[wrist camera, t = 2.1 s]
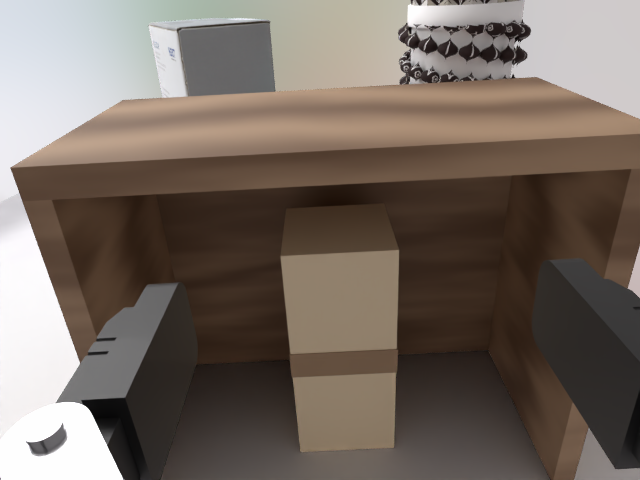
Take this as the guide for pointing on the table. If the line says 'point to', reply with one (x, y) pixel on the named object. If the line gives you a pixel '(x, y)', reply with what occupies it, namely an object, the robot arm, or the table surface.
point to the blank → (342, 324)
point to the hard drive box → (213, 56)
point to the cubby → (347, 189)
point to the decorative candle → (462, 40)
